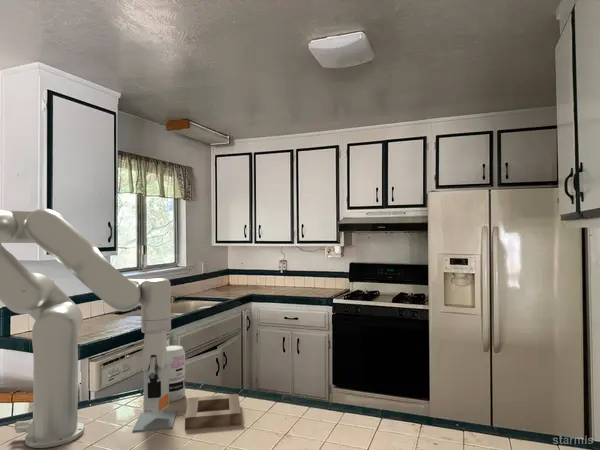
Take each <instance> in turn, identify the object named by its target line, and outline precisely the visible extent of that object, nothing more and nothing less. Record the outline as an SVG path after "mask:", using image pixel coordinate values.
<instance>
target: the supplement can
mask: <svg viewBox="0 0 600 450" xmlns="http://www.w3.org/2000/svg"><path fill="white" fill-rule="evenodd" d="M166 362H169V403H170V402H171V403H173V402H177V401H179V400H181V399H183V397H184V396H185V395H186V352H185V349H184V347H183V346H182V345H178V344H177V345H176V344H174V345H167V356H166Z"/></svg>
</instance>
